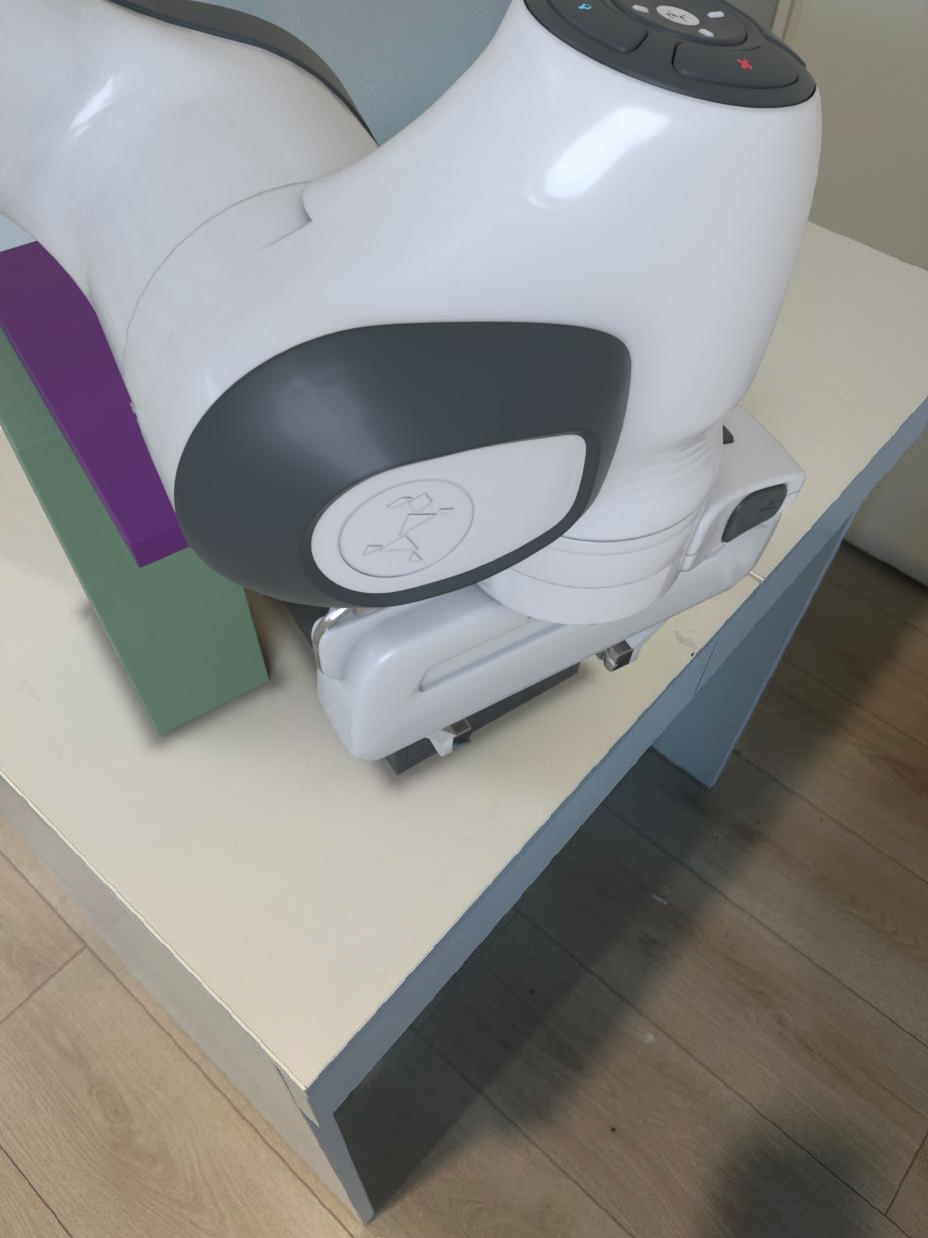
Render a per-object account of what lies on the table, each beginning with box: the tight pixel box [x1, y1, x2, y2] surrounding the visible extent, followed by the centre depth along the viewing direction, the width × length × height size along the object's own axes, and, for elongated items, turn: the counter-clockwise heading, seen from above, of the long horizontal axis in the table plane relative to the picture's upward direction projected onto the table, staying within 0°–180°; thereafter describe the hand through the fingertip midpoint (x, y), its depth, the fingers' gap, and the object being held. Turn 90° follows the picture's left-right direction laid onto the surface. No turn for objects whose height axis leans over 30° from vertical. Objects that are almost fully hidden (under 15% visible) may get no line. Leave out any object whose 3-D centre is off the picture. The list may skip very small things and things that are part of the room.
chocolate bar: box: [0, 240, 190, 568], centre depth 42 cm, size 4×21×2 cm, turn 33°
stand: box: [0, 326, 270, 736], centre depth 56 cm, size 8×12×26 cm, turn 33°
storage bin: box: [280, 600, 581, 776], centre depth 65 cm, size 15×25×10 cm, turn 33°
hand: (532, 696), depth 45 cm, fingers open, 8 cm apart
